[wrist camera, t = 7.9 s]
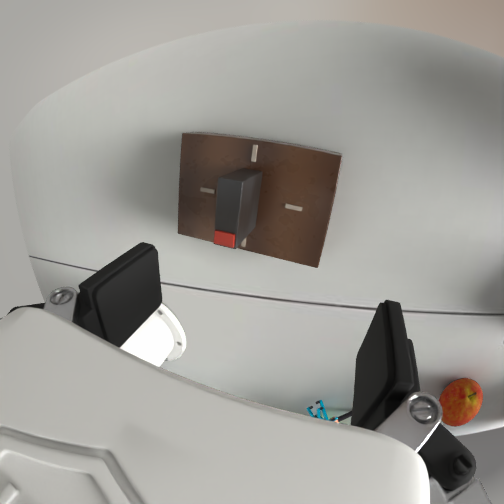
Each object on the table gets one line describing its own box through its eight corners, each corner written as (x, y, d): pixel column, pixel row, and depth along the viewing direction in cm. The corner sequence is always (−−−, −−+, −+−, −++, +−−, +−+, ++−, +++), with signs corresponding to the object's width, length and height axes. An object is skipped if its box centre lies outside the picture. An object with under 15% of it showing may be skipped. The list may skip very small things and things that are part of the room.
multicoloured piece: (310, 399, 33) (331, 448, 27) (353, 382, 35) (375, 426, 29) (295, 418, 41) (310, 456, 36) (330, 405, 43) (347, 440, 37)
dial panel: (191, 224, 30) (176, 234, 27) (197, 131, 25) (181, 132, 23) (320, 254, 27) (317, 269, 24) (342, 153, 22) (342, 156, 20)
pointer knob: (242, 167, 23) (216, 177, 18) (263, 171, 22) (241, 182, 18) (236, 222, 25) (211, 245, 20) (255, 227, 24) (234, 251, 20)
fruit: (430, 432, 26) (452, 424, 20) (430, 389, 31) (450, 372, 25) (469, 425, 24) (495, 413, 18) (467, 383, 29) (491, 365, 23)
